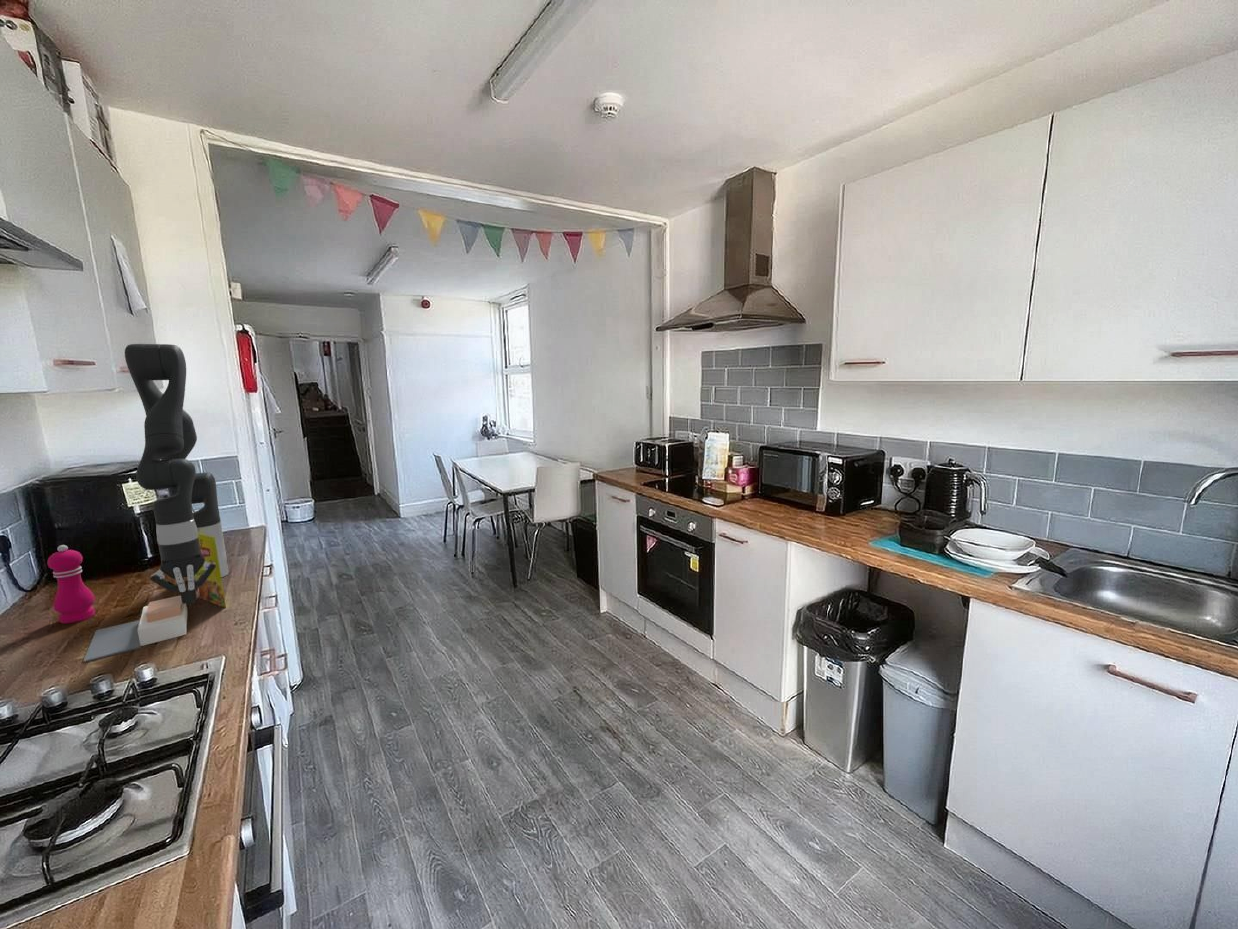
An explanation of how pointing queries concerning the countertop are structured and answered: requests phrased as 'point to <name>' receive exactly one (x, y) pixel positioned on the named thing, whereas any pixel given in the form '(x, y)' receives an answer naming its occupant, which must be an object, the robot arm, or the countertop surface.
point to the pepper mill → (70, 586)
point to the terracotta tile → (164, 608)
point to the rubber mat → (113, 641)
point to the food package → (213, 584)
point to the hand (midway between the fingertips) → (189, 603)
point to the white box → (162, 627)
